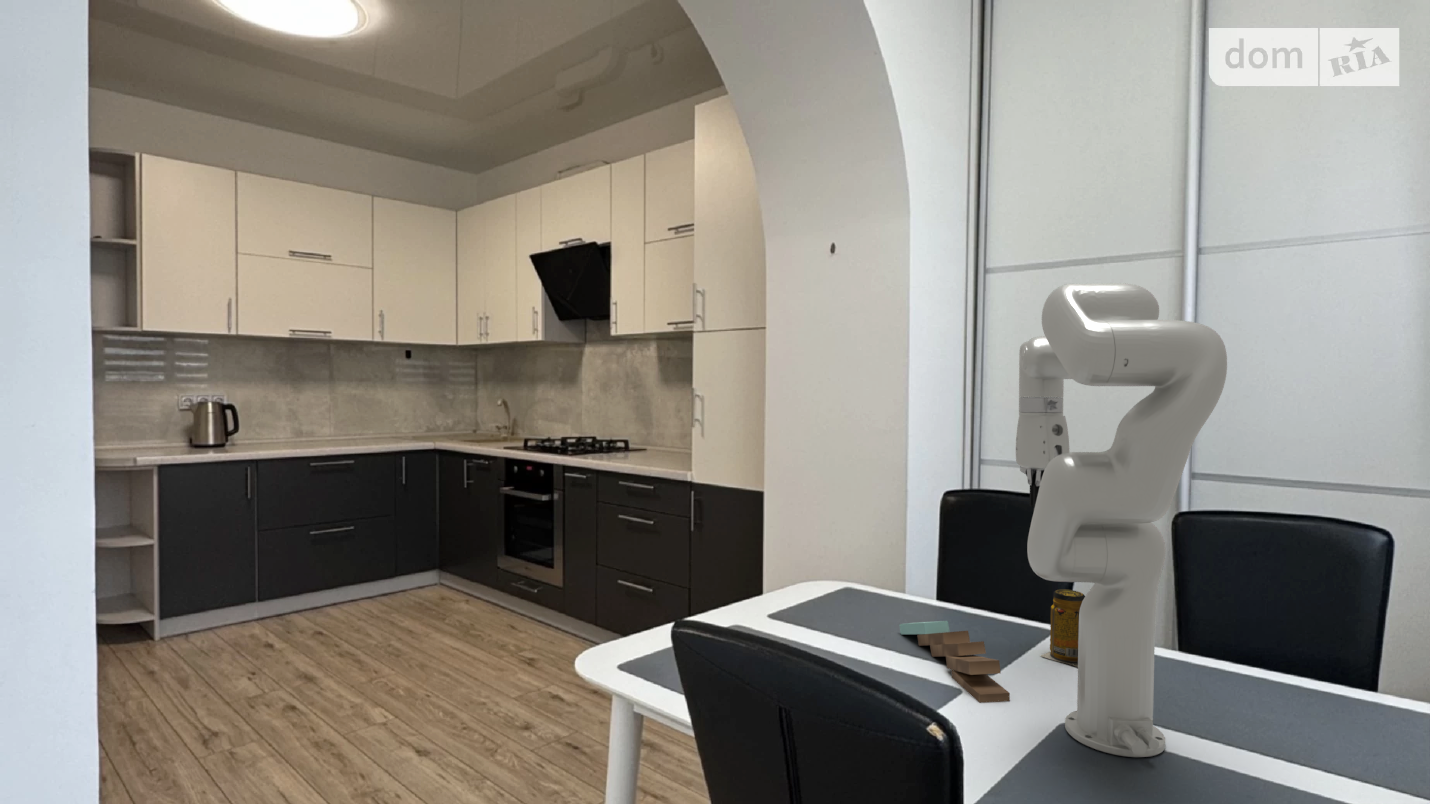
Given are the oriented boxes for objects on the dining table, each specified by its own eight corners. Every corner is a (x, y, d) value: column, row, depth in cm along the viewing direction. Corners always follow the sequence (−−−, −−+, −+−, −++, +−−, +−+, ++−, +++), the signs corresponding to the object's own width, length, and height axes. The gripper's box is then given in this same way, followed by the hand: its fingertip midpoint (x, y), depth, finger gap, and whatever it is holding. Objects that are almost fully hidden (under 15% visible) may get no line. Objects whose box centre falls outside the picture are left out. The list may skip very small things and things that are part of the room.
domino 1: (923, 632, 150) (949, 631, 141) (900, 634, 149) (925, 634, 139) (921, 622, 150) (947, 620, 141) (899, 624, 149) (924, 622, 140)
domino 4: (974, 667, 130) (1000, 673, 121) (947, 668, 130) (970, 674, 120) (973, 655, 131) (999, 660, 121) (945, 656, 130) (969, 661, 121)
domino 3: (956, 654, 138) (986, 653, 129) (931, 656, 137) (960, 655, 128) (954, 643, 139) (983, 641, 129) (930, 645, 137) (957, 643, 128)
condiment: (1059, 648, 142) (1060, 585, 141) (1105, 661, 135) (1106, 595, 135) (1039, 657, 137) (1041, 592, 137) (1086, 671, 130) (1088, 603, 130)
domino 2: (942, 643, 144) (970, 642, 134) (918, 645, 142) (945, 644, 133) (940, 632, 144) (968, 630, 135) (917, 634, 143) (943, 632, 134)
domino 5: (979, 680, 128) (1009, 705, 118) (951, 681, 127) (979, 707, 117) (979, 668, 128) (1009, 692, 118) (951, 670, 127) (979, 694, 117)
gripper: (1086, 408, 131) (1085, 512, 131) (1034, 407, 146) (1033, 501, 146) (1048, 408, 129) (1047, 513, 130) (999, 406, 144) (998, 501, 144)
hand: (1039, 506), depth 138 cm, fingers closed
